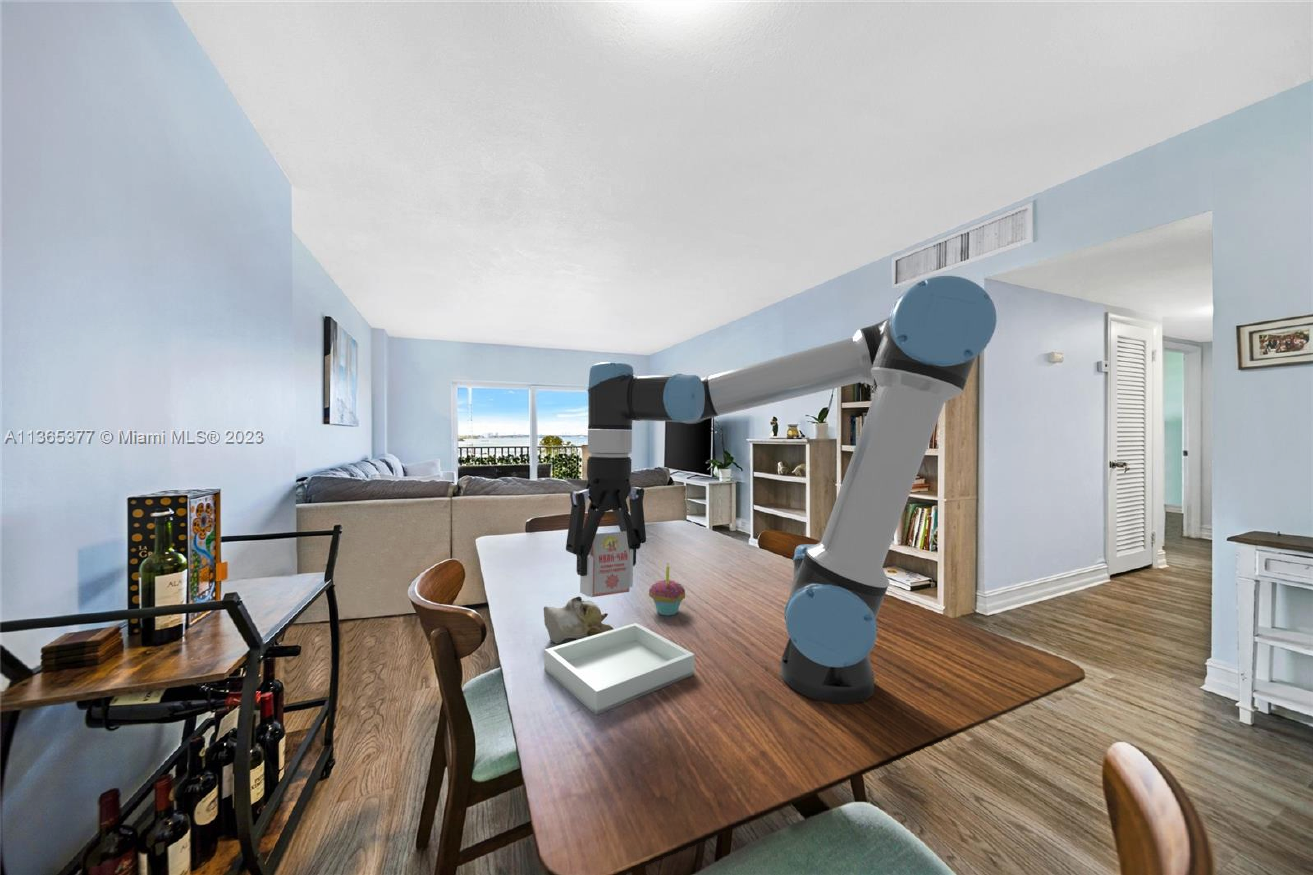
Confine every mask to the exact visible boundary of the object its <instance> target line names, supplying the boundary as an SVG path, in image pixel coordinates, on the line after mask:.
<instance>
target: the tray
mask: <svg viewBox="0 0 1313 875" xmlns="http://www.w3.org/2000/svg"><path fill="white" fill-rule="evenodd" d="M695 656H696V655H695V653H694V652H691V651H689V650H687V649H686V648H684V647H682V646H680V645H678V644H676V643H674V642H673V641H671V640H669V639H667V638H665V637H663V636H662V635H660V634H658V633H656V632H654V631H652V630H650V629H649V628H647V627H645V626H643V625H642V624H640V623H638V622H635V623H630V624H627V625H624V626H621V627H617V628H614V629H613V630H610V631H606V632H603V633H600V634H596V635H593V636H589V637H586V638H583V639H576V640H572V641H569V642H566V643H563V644H559V645H556V646H552V647H549V648H545V649H544V669H543V670H545V671H546V673H548V674H549V675H550V676H551V677H552V678H554V679H555V680H556V681H557V682H558V683H559V684H560V685H561V686H563V688H565V689H566V690H567V691H568V692H569V693H571V695H573V696H574V697H575V699H577V700H578V701H579V702H581V704H583V705H584V706H585V707H586V708H588V710H589V711H591V712H592V713H593V714H594V715H595V716H598V715H600V714H603V713H605V712H607V711H610V710H613V709H615V708H617V707H620V706H621V705H624V704H626V703H630V702H632V701H634V700H636V699H639V698H641V697H643V696H646V695H648V694H650V693H654V692H655V691H657V690H660V689H662V688H665V687H667V686H670V685H672V684H675V683H678V682H680V681H682V680H684V679H686V678H688V677H691V676H693V675H695V661H696V660H695V658H696V657H695Z"/></svg>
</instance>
